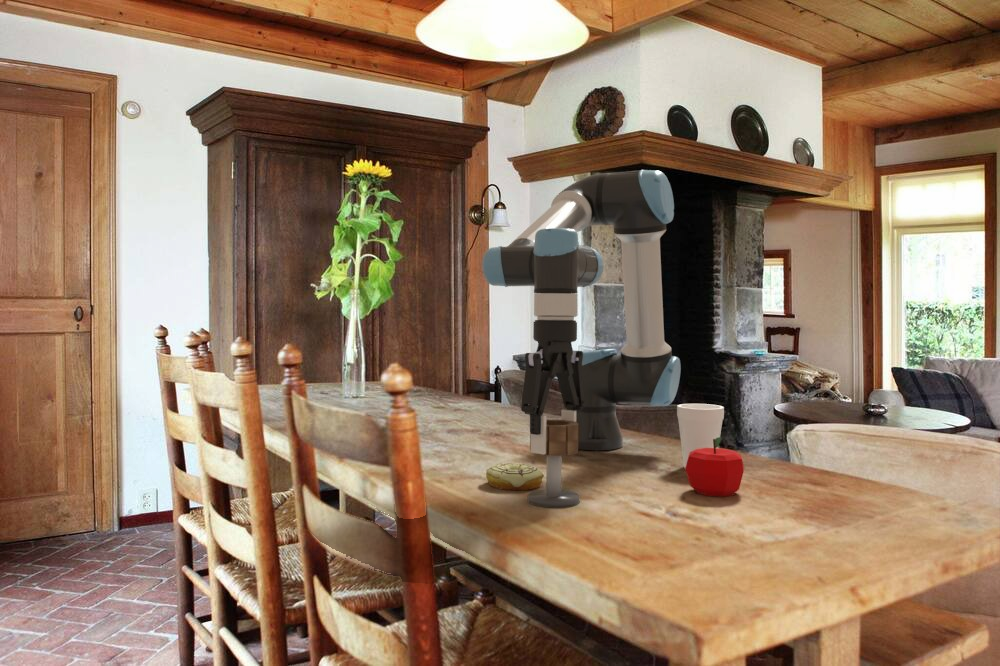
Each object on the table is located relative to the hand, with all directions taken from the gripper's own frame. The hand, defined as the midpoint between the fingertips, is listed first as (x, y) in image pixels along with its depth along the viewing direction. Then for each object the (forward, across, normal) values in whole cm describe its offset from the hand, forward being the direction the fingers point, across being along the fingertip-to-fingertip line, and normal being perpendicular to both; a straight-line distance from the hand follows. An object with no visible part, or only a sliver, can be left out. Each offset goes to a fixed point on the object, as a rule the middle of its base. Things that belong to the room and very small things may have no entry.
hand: (553, 449), depth 139 cm
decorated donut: (+9, -5, -13) cm, 17 cm away
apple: (+9, -25, +18) cm, 32 cm away
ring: (0, 0, 0) cm, 0 cm away
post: (+9, 0, 0) cm, 9 cm away
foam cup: (+9, -43, +6) cm, 45 cm away
